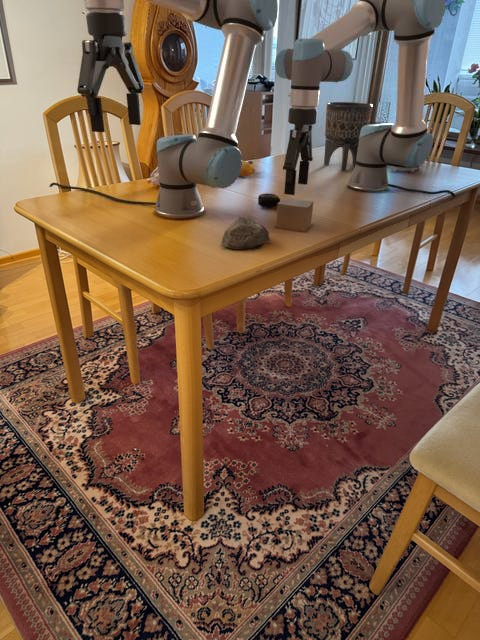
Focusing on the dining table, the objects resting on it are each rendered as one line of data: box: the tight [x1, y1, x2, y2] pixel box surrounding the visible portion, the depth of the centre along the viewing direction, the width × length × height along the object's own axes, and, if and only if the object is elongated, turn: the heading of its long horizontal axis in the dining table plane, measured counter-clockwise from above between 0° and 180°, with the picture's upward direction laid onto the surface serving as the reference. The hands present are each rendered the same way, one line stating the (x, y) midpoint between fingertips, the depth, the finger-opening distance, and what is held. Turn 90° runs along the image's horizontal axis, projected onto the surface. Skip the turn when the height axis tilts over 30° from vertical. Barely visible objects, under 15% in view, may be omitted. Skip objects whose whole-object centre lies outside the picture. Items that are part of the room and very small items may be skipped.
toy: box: [238, 160, 256, 178], centre depth 191 cm, size 11×6×15 cm
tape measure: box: [257, 192, 281, 209], centre depth 151 cm, size 7×7×4 cm
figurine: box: [145, 166, 159, 186], centre depth 170 cm, size 8×15×13 cm, turn 145°
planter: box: [323, 101, 374, 172], centre depth 204 cm, size 20×20×26 cm
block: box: [275, 197, 314, 233], centre depth 134 cm, size 7×9×7 cm
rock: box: [221, 216, 270, 250], centre depth 119 cm, size 13×9×6 cm, turn 131°
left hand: (117, 128), depth 101 cm, fingers open, 13 cm apart
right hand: (296, 189), depth 130 cm, fingers open, 13 cm apart
